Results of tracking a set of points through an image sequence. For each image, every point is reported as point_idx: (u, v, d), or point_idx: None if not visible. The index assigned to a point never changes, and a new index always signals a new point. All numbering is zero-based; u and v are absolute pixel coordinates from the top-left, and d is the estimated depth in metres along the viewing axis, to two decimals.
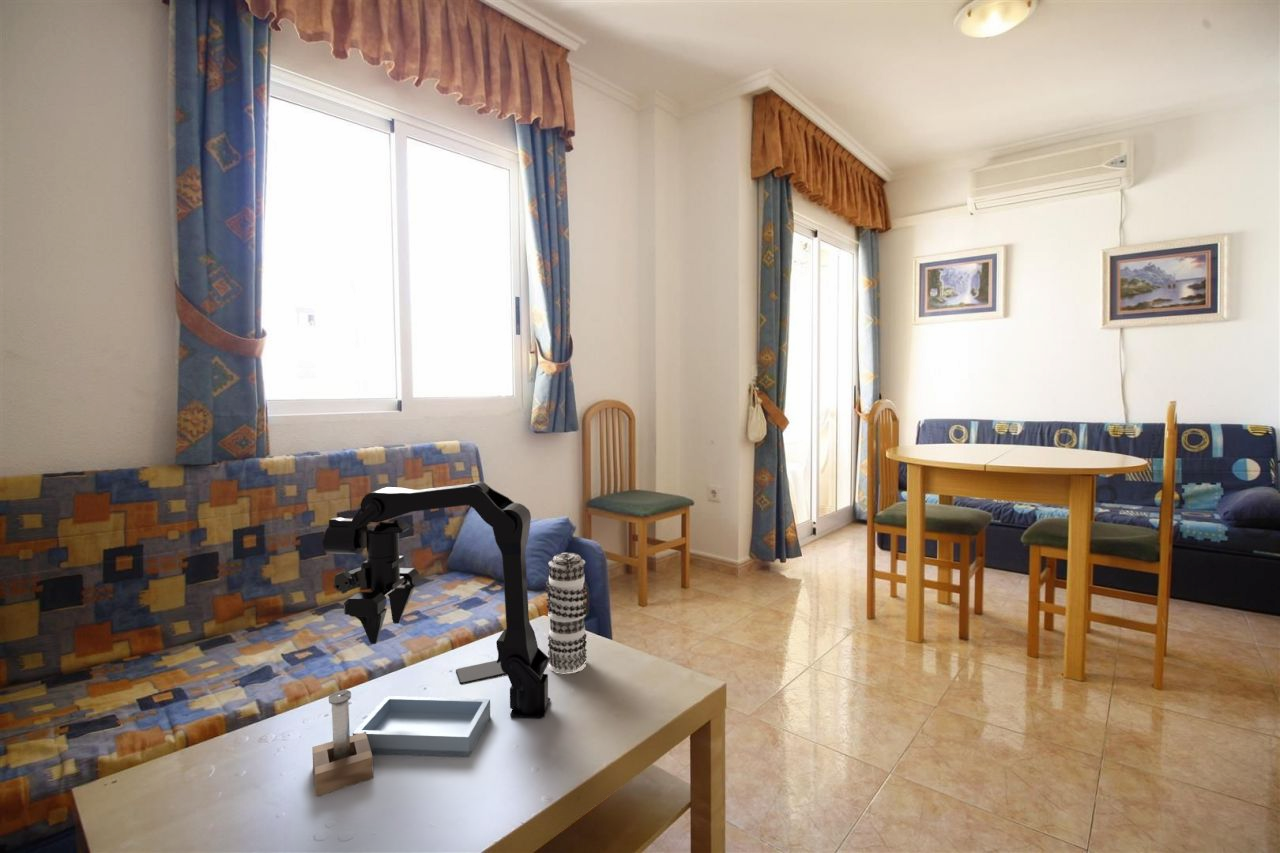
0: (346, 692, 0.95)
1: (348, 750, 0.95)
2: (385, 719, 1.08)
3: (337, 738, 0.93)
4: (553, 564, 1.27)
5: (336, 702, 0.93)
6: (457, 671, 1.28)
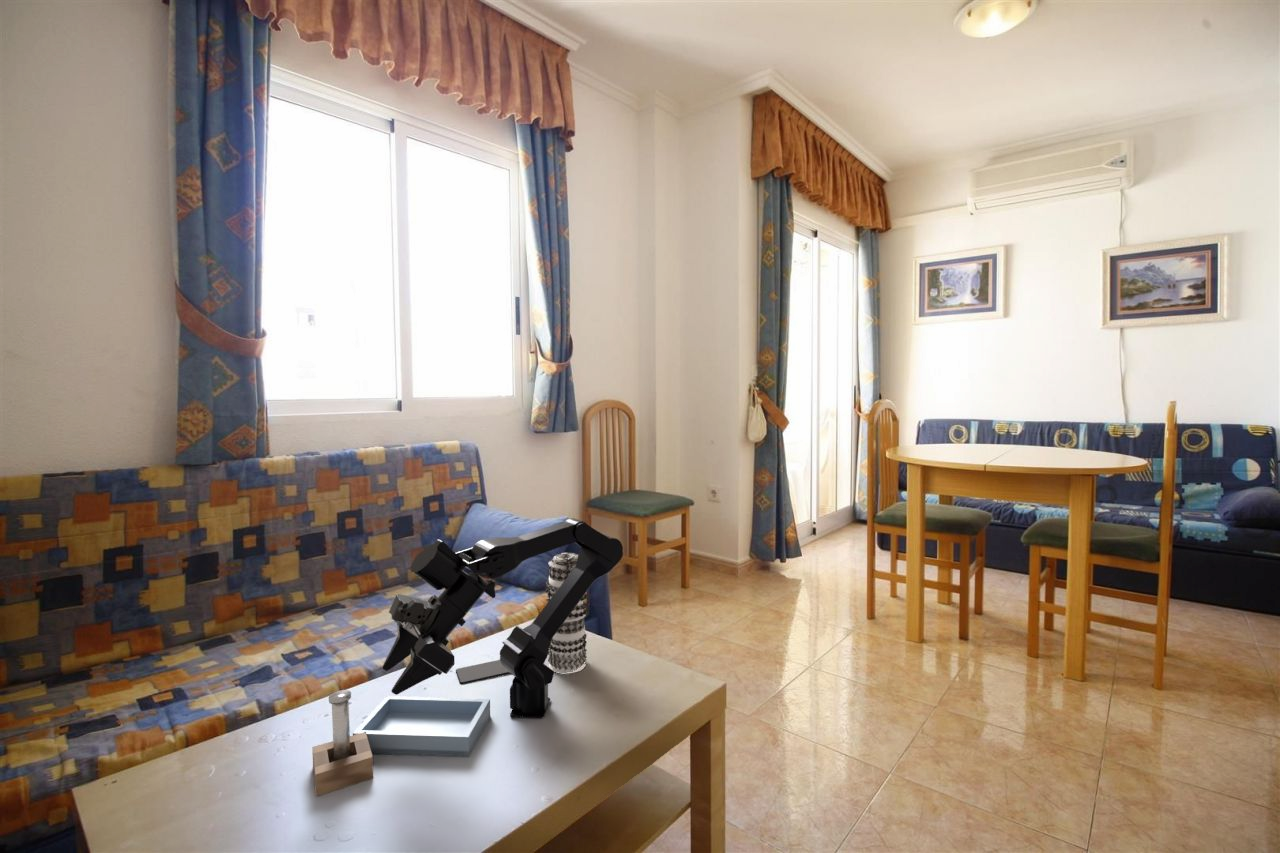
0: (346, 692, 0.95)
1: (348, 750, 0.95)
2: (385, 719, 1.08)
3: (337, 738, 0.93)
4: (553, 564, 1.27)
5: (336, 702, 0.93)
6: (457, 671, 1.28)
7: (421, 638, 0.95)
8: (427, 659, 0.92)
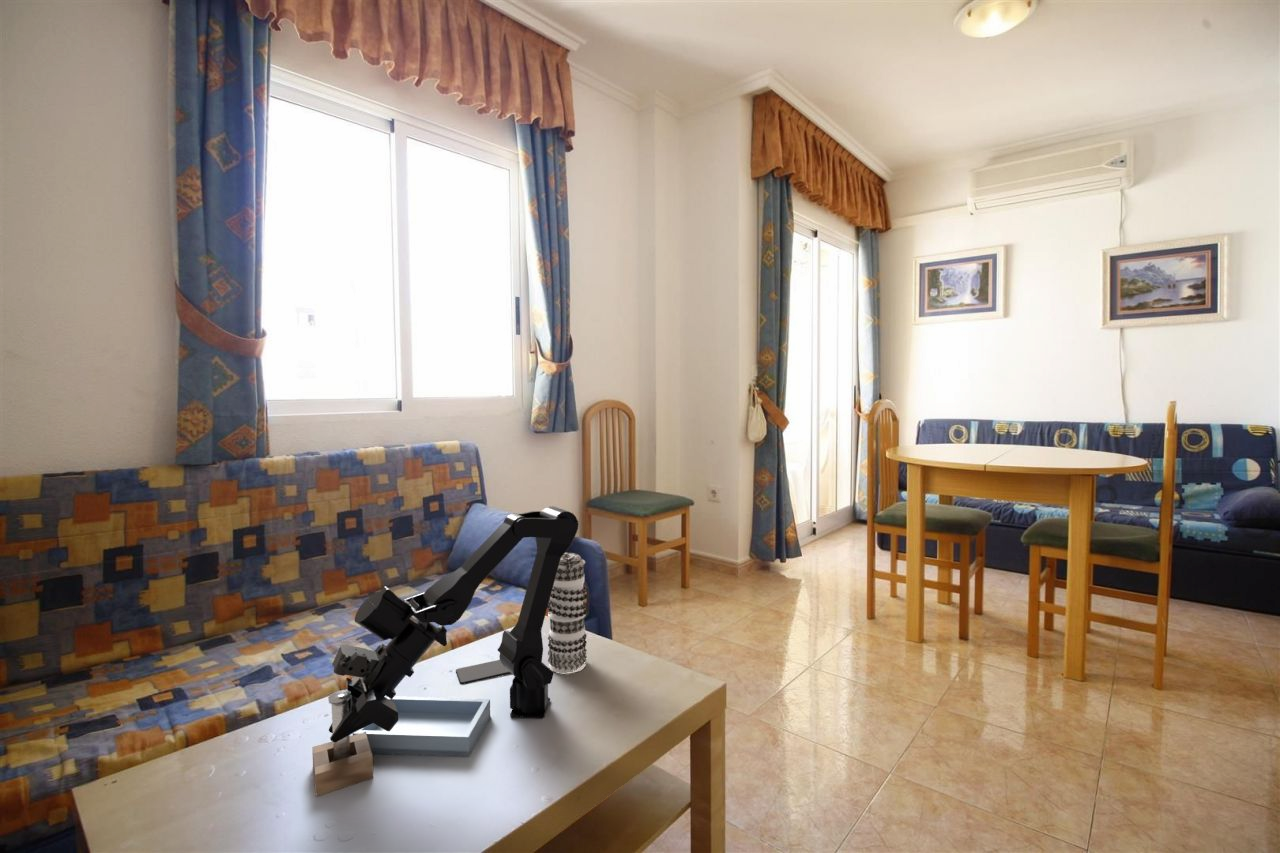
0: (346, 692, 0.95)
1: (348, 750, 0.95)
2: None
3: None
4: None
5: (336, 702, 0.93)
6: (457, 671, 1.28)
7: (363, 694, 0.90)
8: (368, 717, 0.88)
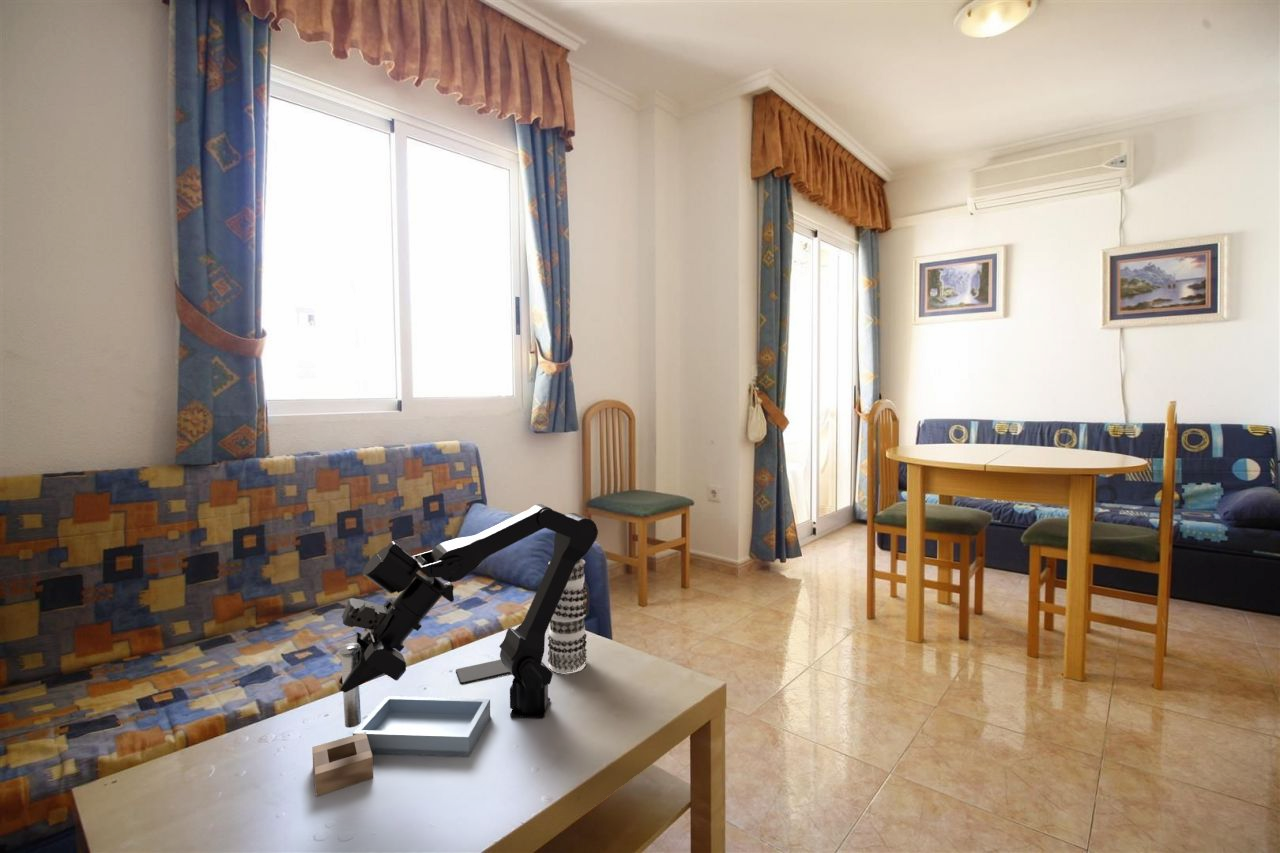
0: (355, 644, 0.97)
1: (358, 701, 0.96)
2: (385, 719, 1.08)
3: None
4: None
5: (345, 653, 0.94)
6: (457, 671, 1.28)
7: (371, 644, 0.92)
8: (376, 666, 0.89)
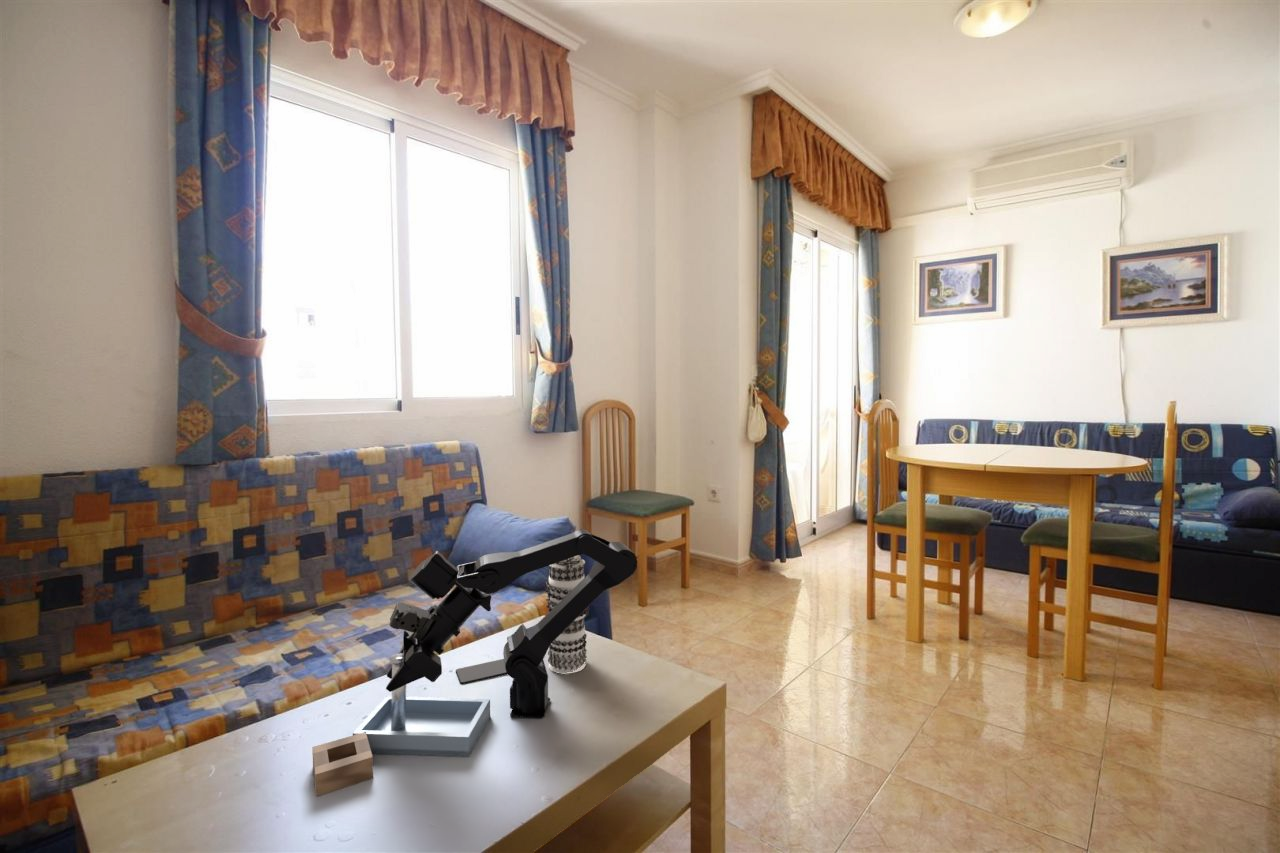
0: None
1: (403, 708, 1.05)
2: (385, 719, 1.08)
3: (395, 695, 1.04)
4: (553, 564, 1.27)
5: (395, 663, 1.03)
6: (457, 671, 1.28)
7: (412, 646, 1.00)
8: (414, 667, 0.97)
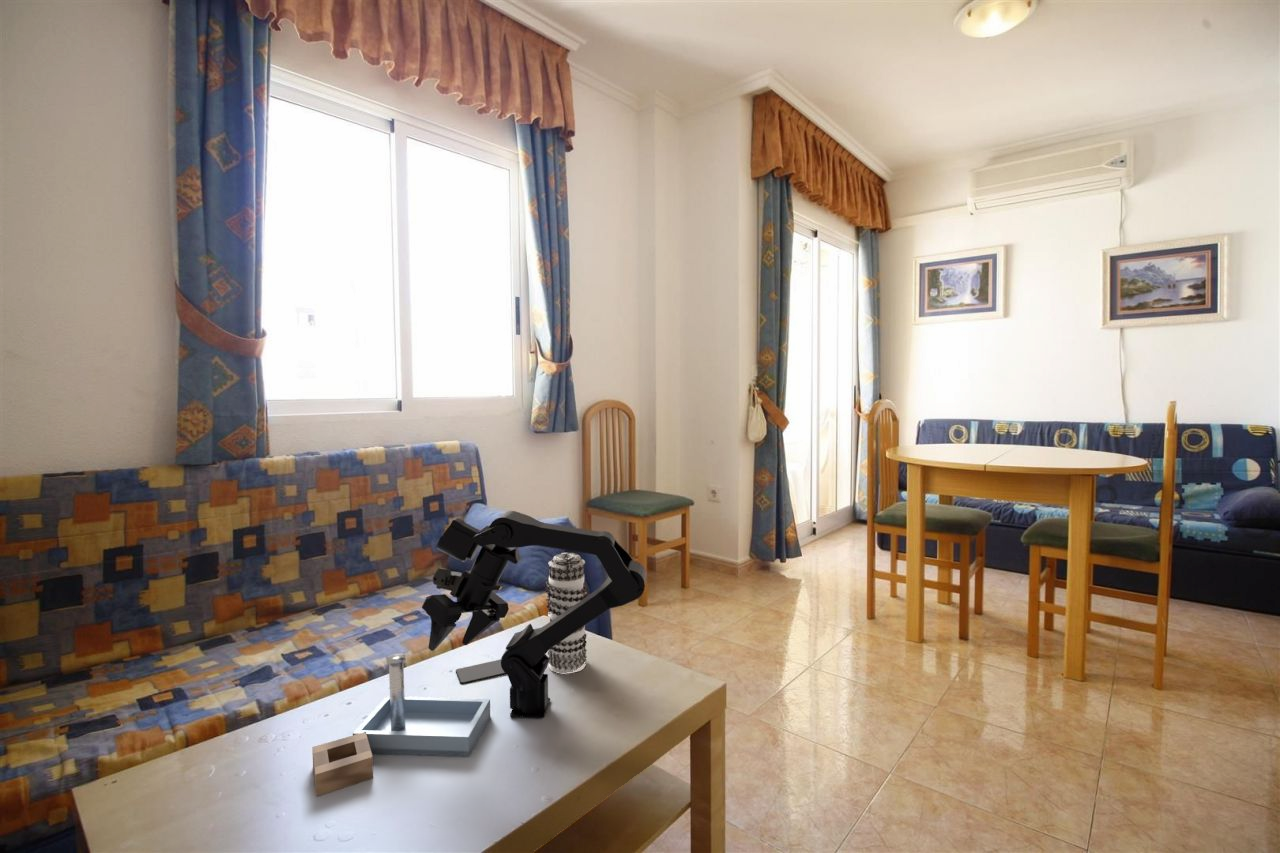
0: (401, 655, 1.06)
1: (402, 707, 1.05)
2: (385, 719, 1.08)
3: (393, 695, 1.04)
4: (553, 564, 1.27)
5: (392, 663, 1.03)
6: (457, 671, 1.28)
7: None
8: (426, 609, 1.04)
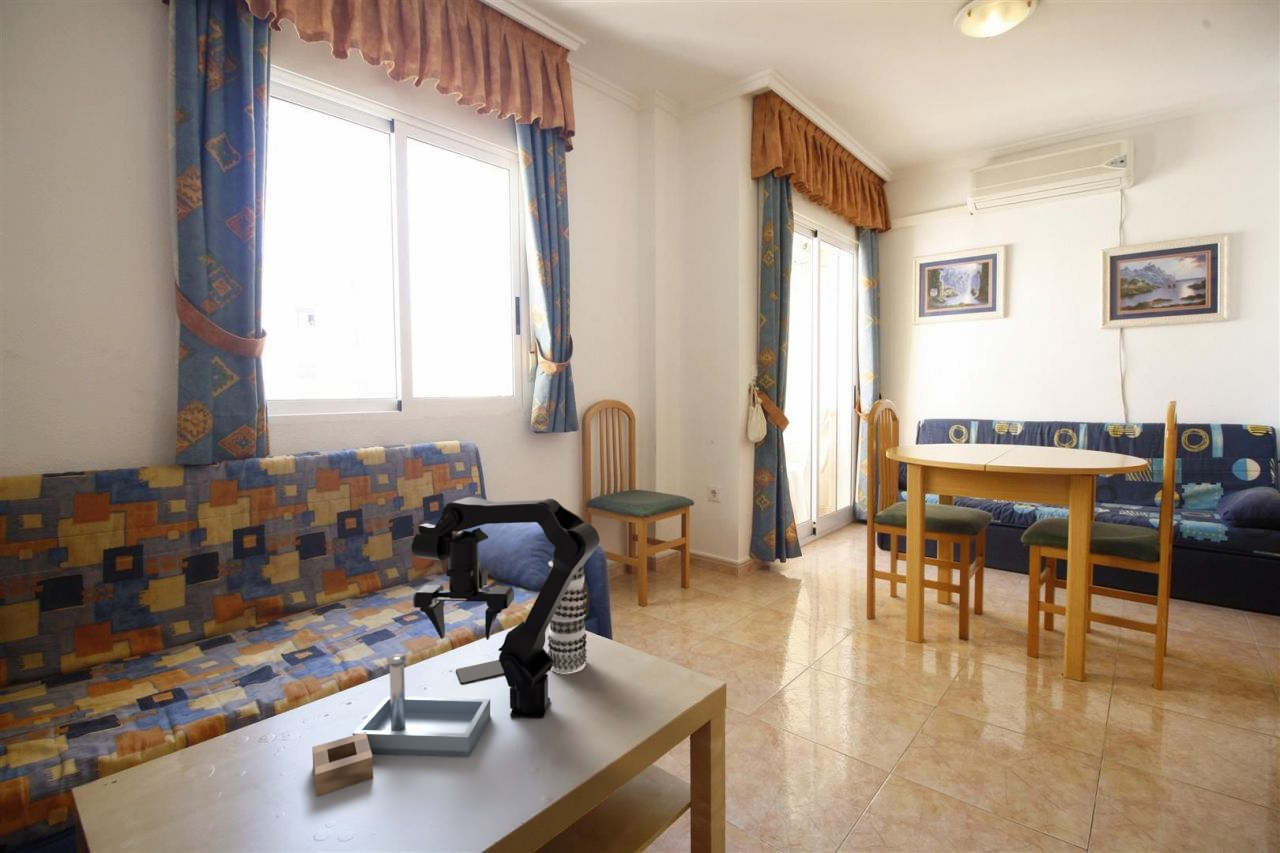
0: (402, 655, 1.06)
1: (403, 708, 1.05)
2: (385, 719, 1.08)
3: (393, 696, 1.04)
4: None
5: (393, 663, 1.03)
6: (457, 671, 1.28)
7: None
8: None
